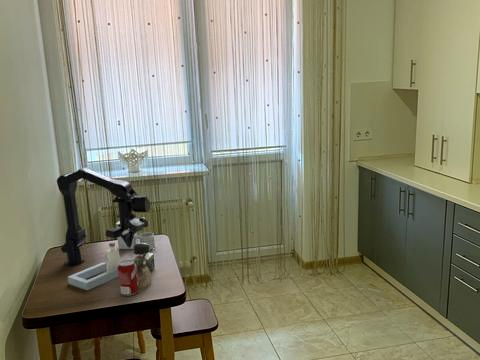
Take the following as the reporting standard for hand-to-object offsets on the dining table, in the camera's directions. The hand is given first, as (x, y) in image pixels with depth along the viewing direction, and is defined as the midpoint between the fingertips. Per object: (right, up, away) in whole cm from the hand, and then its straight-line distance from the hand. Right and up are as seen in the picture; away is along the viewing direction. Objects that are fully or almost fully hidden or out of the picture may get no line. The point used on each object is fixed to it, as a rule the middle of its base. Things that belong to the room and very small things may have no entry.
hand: (129, 247), depth 205 cm
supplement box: (-6, -3, +24) cm, 24 cm away
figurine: (+9, -12, -19) cm, 24 cm away
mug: (+2, -3, +20) cm, 20 cm away
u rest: (-10, -11, -12) cm, 19 cm away
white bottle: (-5, -9, -5) cm, 11 cm away
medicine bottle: (+8, -9, -8) cm, 15 cm away
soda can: (+6, -13, -27) cm, 30 cm away
